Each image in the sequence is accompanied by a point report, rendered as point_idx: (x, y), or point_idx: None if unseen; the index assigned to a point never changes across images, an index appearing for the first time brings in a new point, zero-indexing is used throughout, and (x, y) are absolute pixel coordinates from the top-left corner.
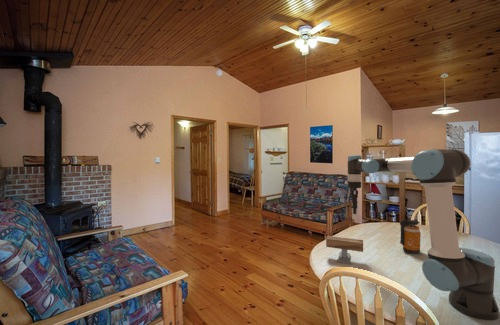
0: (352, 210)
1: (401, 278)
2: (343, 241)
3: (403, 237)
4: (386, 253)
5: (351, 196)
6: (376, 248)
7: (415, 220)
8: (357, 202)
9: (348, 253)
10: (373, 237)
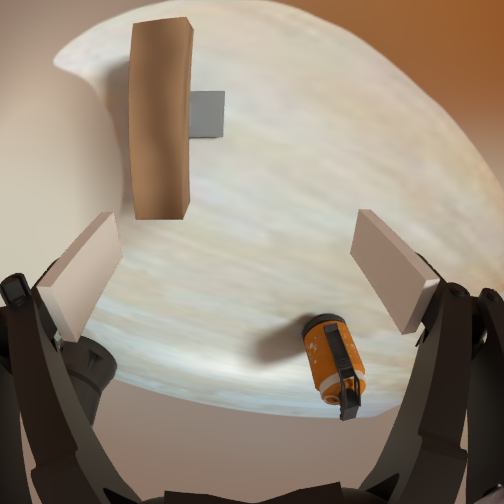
0: (56, 268)
1: (118, 283)
2: (130, 117)
3: (330, 347)
4: (290, 268)
5: (36, 475)
6: (330, 241)
7: (349, 417)
8: (416, 344)
9: (215, 129)
10: (428, 241)
